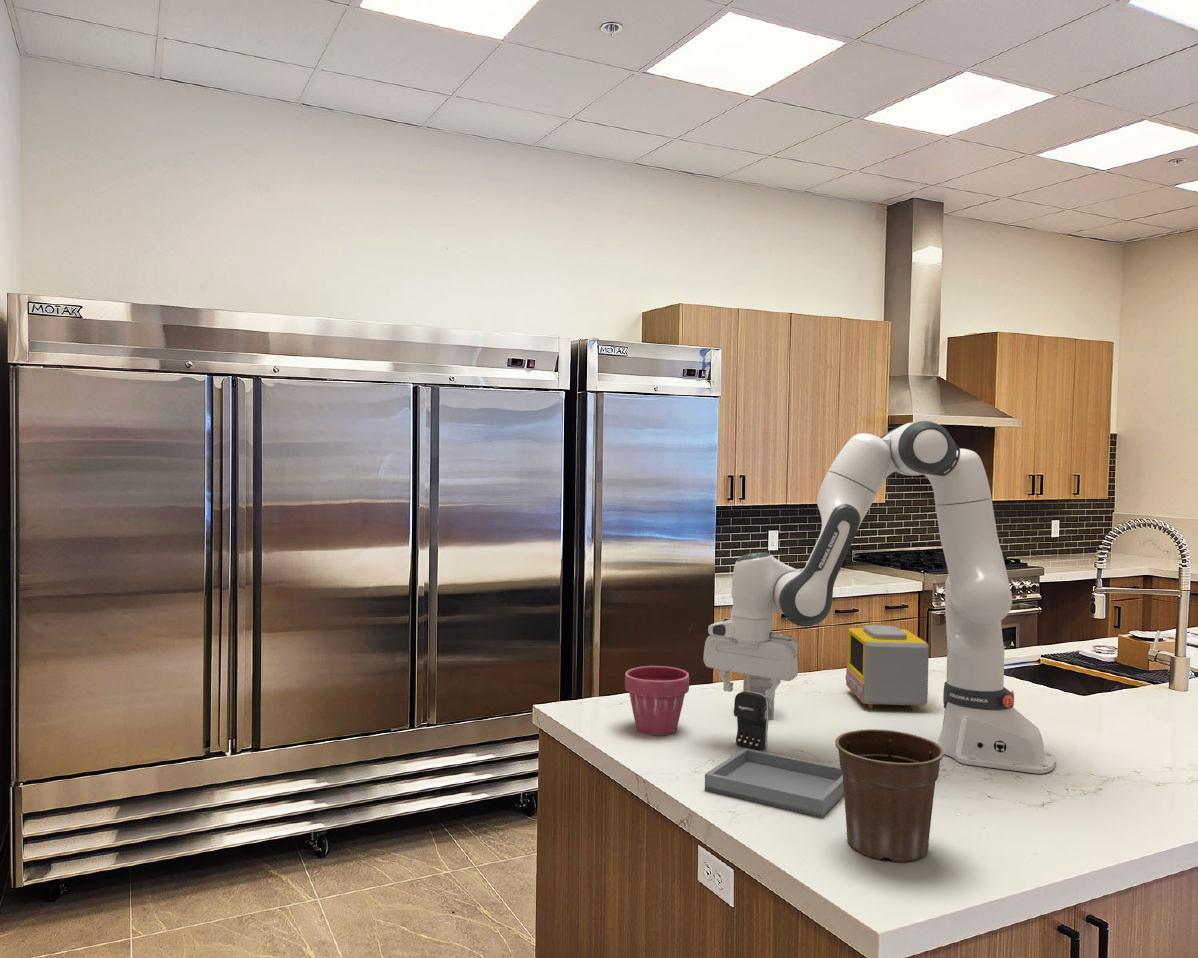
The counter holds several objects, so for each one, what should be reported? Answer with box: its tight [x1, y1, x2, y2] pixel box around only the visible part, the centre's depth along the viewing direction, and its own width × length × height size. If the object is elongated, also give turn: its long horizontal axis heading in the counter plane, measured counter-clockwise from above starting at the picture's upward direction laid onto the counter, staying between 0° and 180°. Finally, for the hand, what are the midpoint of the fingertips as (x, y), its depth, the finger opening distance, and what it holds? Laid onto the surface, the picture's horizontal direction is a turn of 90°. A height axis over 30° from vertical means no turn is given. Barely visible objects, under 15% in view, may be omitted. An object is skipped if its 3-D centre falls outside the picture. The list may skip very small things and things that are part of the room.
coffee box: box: [742, 673, 775, 720], centre depth 212 cm, size 9×6×16 cm
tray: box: [704, 747, 844, 819], centre depth 164 cm, size 22×18×3 cm
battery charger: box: [733, 690, 769, 751], centre depth 188 cm, size 7×4×11 cm, turn 49°
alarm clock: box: [845, 624, 930, 711], centre depth 225 cm, size 20×16×18 cm
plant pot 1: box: [624, 665, 690, 736], centre depth 199 cm, size 14×14×13 cm
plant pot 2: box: [834, 729, 945, 863], centre depth 140 cm, size 16×16×16 cm
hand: (748, 694), depth 188 cm, fingers open, 8 cm apart
